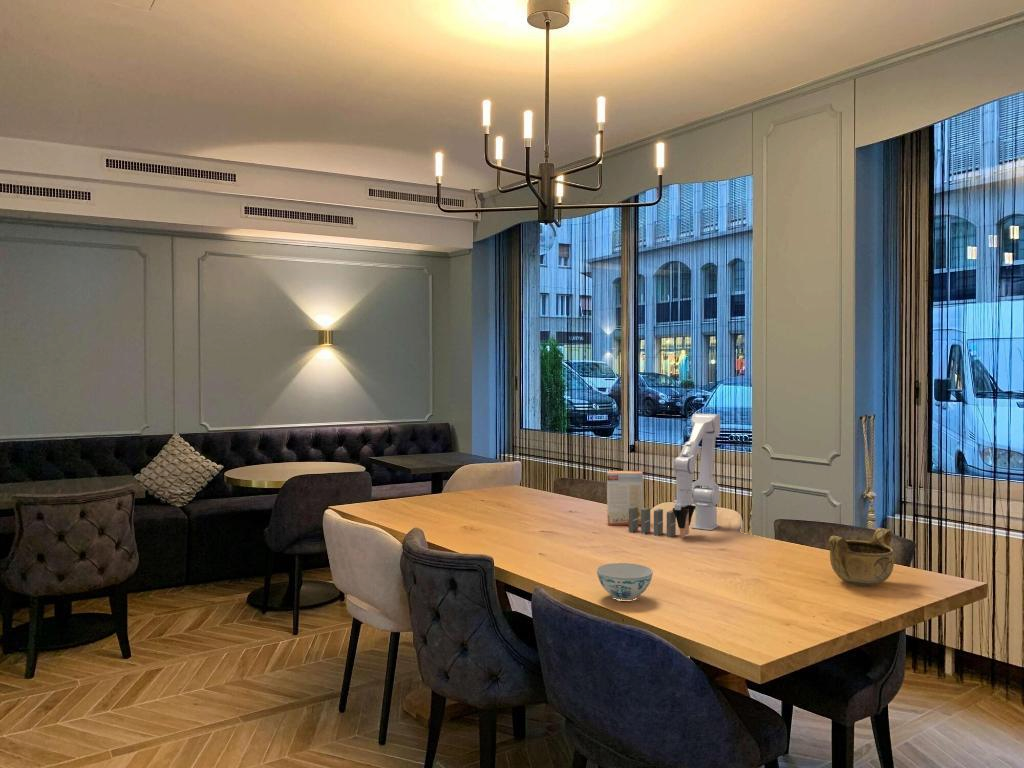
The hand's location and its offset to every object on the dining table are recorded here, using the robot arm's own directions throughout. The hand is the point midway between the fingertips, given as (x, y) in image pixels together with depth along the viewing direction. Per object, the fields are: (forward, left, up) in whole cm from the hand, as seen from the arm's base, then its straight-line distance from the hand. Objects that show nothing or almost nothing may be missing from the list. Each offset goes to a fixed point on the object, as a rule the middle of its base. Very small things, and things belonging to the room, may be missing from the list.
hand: (684, 526), depth 281 cm
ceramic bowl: (+31, +64, -4) cm, 71 cm away
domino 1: (0, -15, -4) cm, 15 cm away
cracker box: (-10, -28, -4) cm, 30 cm away
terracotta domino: (0, 0, -3) cm, 3 cm away
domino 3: (0, -5, -4) cm, 6 cm away
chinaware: (+79, +12, -4) cm, 80 cm away
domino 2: (0, -10, -4) cm, 11 cm away
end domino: (0, -20, -4) cm, 20 cm away
